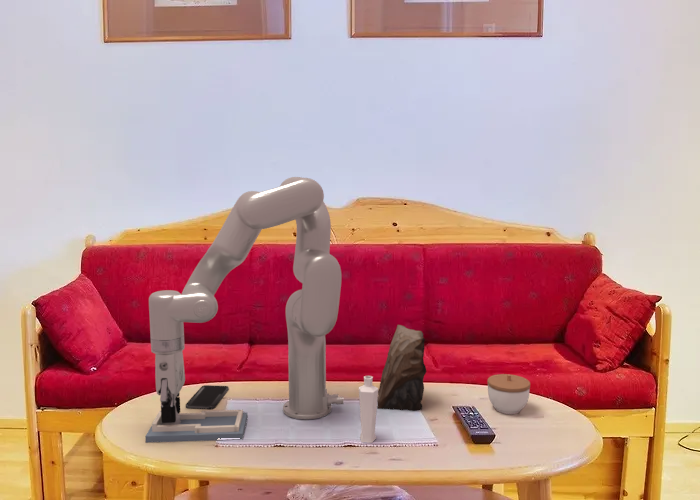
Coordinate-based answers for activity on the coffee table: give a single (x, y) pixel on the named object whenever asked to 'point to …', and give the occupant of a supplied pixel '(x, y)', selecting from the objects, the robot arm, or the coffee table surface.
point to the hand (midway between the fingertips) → (171, 416)
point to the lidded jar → (508, 392)
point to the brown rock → (403, 372)
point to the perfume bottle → (368, 409)
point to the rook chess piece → (176, 413)
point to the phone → (207, 397)
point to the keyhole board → (200, 426)
